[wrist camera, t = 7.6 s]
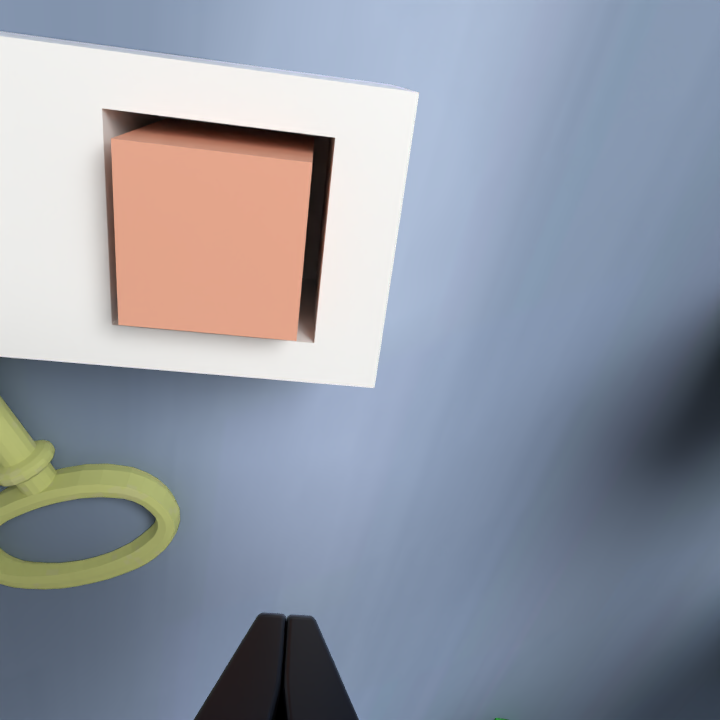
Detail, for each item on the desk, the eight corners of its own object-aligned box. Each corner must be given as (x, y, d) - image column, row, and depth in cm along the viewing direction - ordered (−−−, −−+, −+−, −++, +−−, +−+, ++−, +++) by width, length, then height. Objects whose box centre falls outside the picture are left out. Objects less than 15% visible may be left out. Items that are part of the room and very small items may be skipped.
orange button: (302, 273, 17) (296, 341, 13) (167, 260, 17) (118, 324, 13) (314, 136, 16) (312, 162, 12) (167, 117, 15) (110, 139, 11)
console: (361, 311, 19) (374, 387, 15) (-146, 262, 18) (-306, 331, 13) (391, 84, 16) (419, 92, 12) (-204, 3, 15) (-430, -23, 10)
